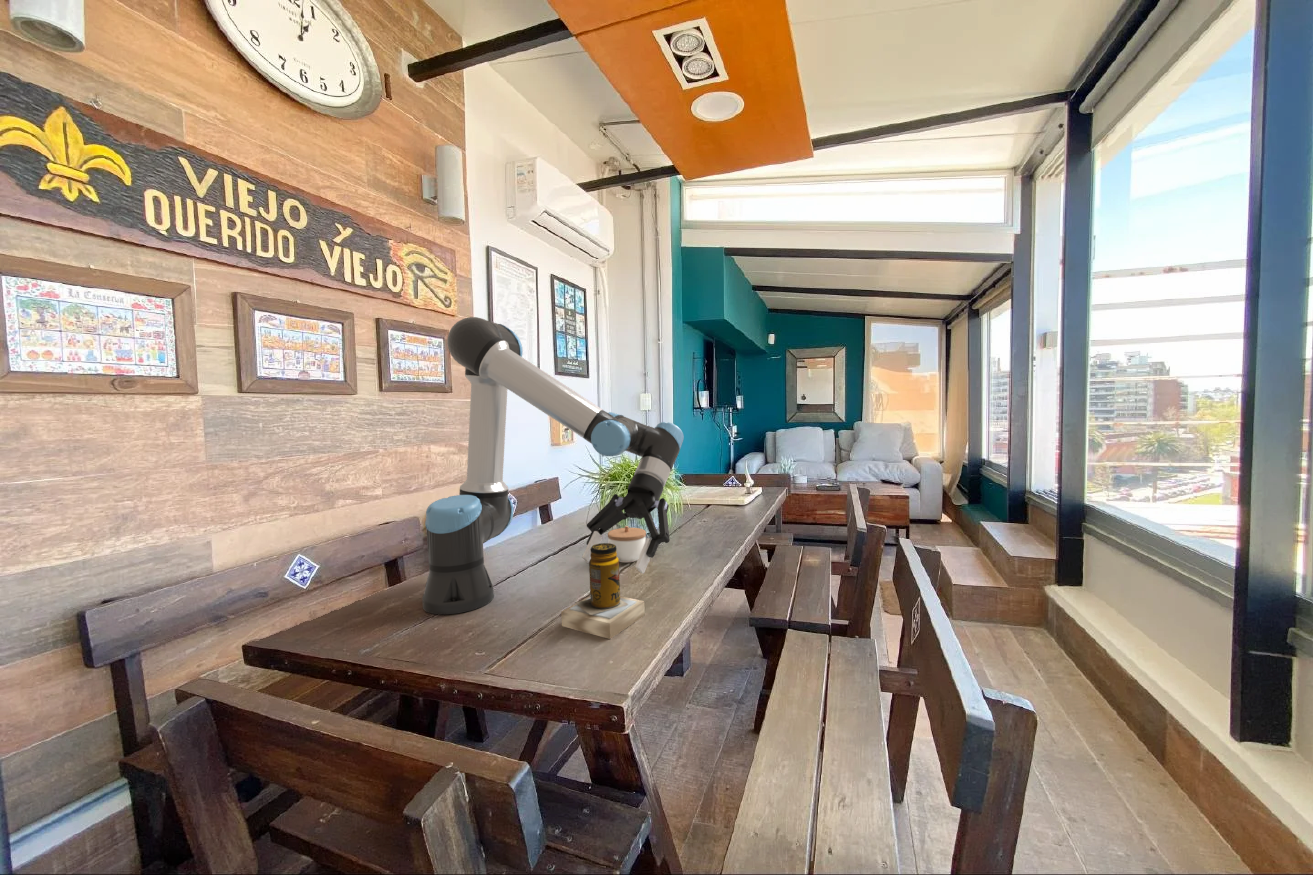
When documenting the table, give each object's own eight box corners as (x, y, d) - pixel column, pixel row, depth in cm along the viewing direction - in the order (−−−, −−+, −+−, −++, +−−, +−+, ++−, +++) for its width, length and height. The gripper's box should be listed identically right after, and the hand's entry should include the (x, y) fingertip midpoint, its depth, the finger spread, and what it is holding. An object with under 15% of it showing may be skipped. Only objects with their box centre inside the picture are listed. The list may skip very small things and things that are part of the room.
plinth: (561, 626, 103) (561, 610, 102) (598, 604, 113) (598, 590, 113) (610, 638, 96) (609, 621, 96) (645, 615, 107) (644, 599, 106)
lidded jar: (654, 556, 147) (652, 524, 146) (632, 567, 138) (631, 532, 137) (623, 551, 152) (622, 520, 152) (600, 561, 143) (599, 528, 143)
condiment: (628, 605, 104) (626, 546, 103) (590, 615, 99) (588, 554, 98) (611, 594, 110) (608, 539, 109) (574, 604, 105) (572, 546, 104)
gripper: (703, 494, 113) (671, 583, 101) (612, 487, 126) (574, 565, 115) (691, 474, 108) (656, 565, 97) (597, 469, 121) (556, 548, 110)
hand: (611, 565), depth 106 cm, fingers open, 13 cm apart
